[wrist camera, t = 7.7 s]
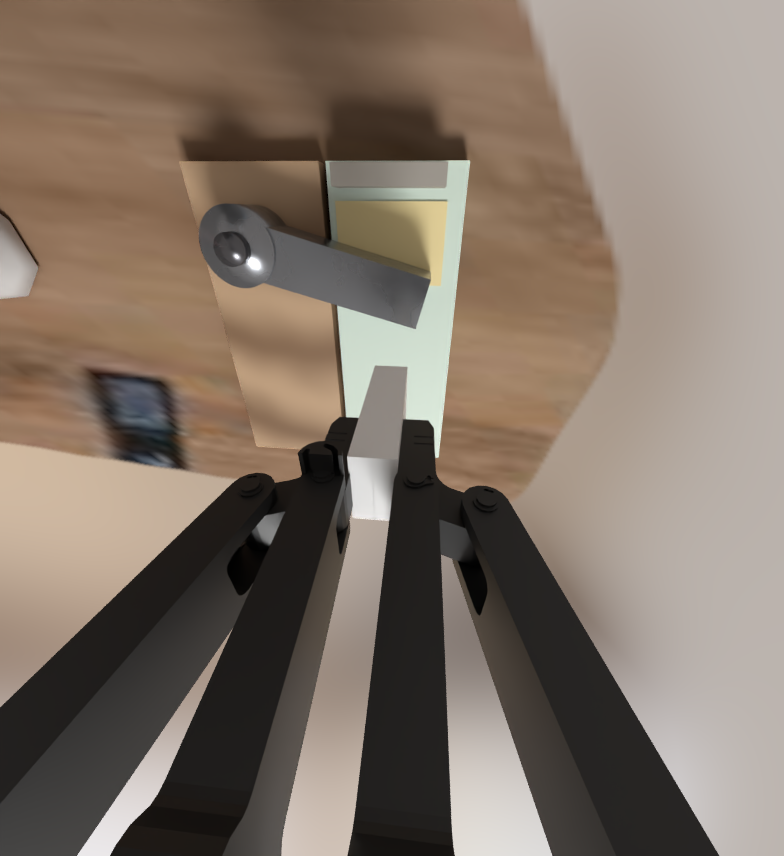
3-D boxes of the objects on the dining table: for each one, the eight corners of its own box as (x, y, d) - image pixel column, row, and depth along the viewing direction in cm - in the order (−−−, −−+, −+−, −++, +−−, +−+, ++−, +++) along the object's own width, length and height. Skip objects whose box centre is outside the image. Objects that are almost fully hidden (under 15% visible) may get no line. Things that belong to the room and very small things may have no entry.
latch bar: (229, 268, 21) (192, 278, 18) (228, 194, 19) (186, 191, 16) (414, 324, 22) (411, 344, 19) (434, 261, 20) (435, 270, 17)
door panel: (330, 163, 19) (317, 156, 17) (467, 163, 18) (473, 156, 16) (351, 444, 30) (345, 463, 28) (438, 449, 29) (438, 469, 27)
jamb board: (191, 163, 20) (179, 161, 19) (323, 163, 19) (318, 160, 18) (262, 438, 31) (256, 446, 30) (347, 443, 30) (344, 451, 29)
